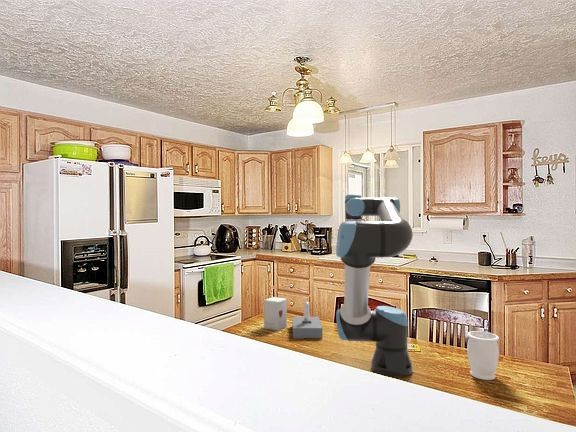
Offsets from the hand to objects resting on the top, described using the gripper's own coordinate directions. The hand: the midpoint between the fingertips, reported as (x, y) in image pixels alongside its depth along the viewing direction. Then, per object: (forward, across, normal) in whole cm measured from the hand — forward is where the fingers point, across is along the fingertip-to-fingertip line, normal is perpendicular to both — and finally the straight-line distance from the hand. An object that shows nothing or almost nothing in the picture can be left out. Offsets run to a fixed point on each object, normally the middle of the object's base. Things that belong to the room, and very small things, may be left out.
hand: (353, 276), depth 169 cm
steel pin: (+32, -21, -20) cm, 43 cm away
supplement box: (+32, -29, -36) cm, 56 cm away
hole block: (+32, -21, -20) cm, 43 cm away
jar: (+32, +31, +42) cm, 61 cm away
